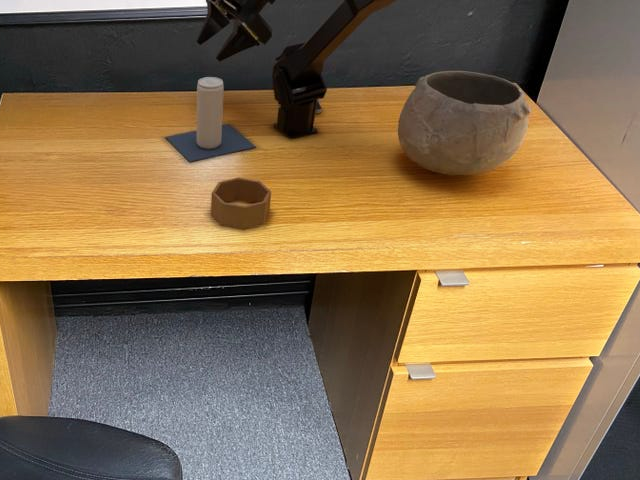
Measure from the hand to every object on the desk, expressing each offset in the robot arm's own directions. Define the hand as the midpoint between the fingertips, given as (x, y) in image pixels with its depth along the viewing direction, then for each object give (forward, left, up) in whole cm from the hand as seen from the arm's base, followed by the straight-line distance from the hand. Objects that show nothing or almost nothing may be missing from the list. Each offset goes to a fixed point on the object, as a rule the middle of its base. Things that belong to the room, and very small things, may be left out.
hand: (207, 51), depth 131 cm
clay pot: (-32, +36, -14) cm, 50 cm away
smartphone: (-22, -1, -14) cm, 26 cm away
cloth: (+4, +9, -14) cm, 17 cm away
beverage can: (+4, +10, -14) cm, 18 cm away
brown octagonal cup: (+11, +34, -14) cm, 38 cm away
